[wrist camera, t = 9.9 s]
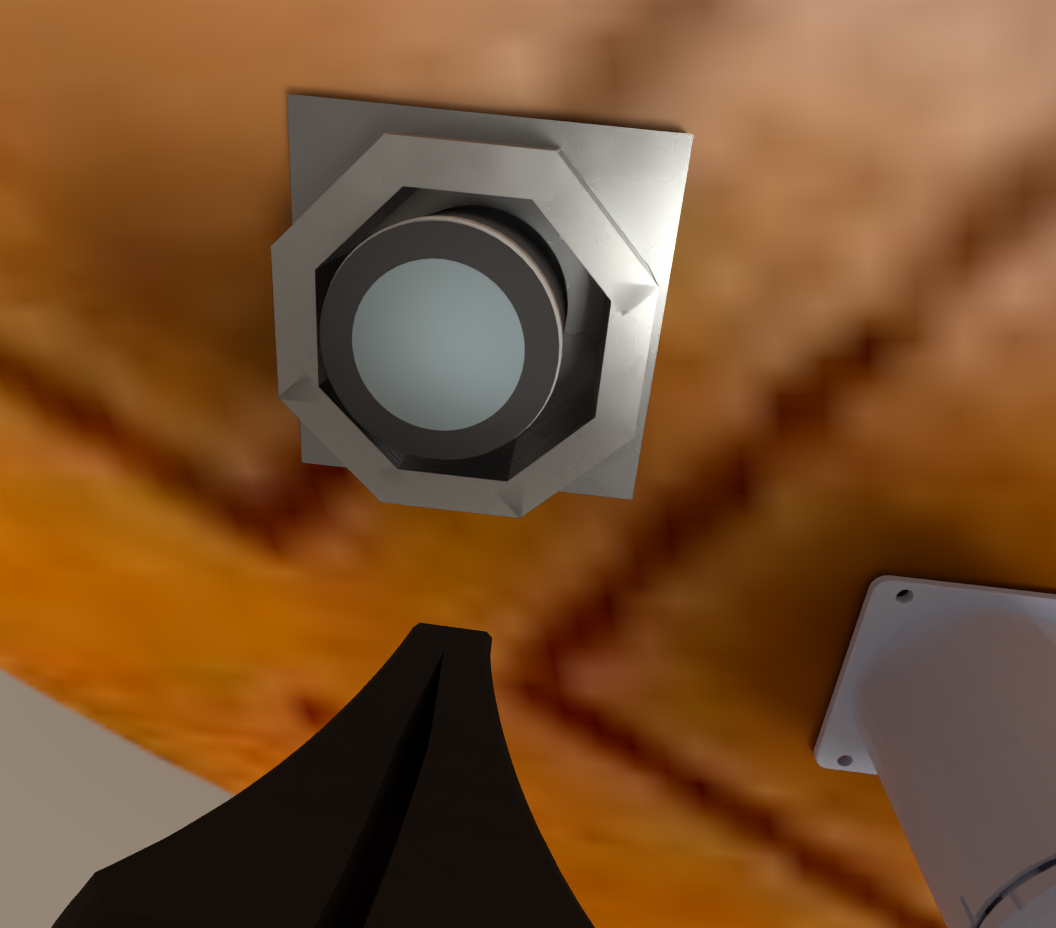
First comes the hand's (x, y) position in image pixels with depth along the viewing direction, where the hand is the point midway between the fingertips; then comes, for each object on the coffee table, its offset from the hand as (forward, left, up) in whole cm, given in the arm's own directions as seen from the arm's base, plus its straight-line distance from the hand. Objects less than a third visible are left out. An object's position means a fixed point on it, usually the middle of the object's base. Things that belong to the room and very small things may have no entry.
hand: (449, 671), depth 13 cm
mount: (+1, -4, -10) cm, 11 cm away
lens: (+1, -5, -9) cm, 10 cm away
